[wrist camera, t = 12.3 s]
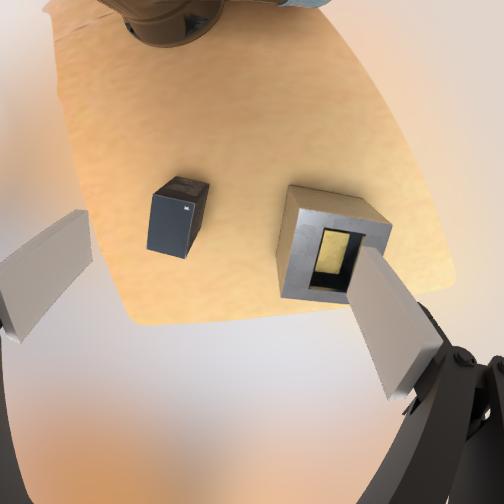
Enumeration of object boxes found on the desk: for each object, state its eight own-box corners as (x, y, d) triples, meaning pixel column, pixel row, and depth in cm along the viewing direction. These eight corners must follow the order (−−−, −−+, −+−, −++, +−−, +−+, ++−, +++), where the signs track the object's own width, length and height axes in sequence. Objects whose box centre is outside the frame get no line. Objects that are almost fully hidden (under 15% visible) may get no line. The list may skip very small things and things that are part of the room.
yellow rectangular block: (314, 211, 44) (325, 230, 37) (335, 214, 44) (349, 234, 37) (306, 246, 47) (314, 271, 40) (326, 249, 47) (338, 274, 40)
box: (174, 175, 43) (152, 193, 33) (210, 183, 44) (196, 203, 34) (166, 222, 46) (144, 250, 37) (200, 230, 47) (185, 260, 37)
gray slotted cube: (288, 184, 43) (299, 208, 32) (362, 198, 44) (392, 225, 33) (275, 256, 48) (280, 297, 38) (344, 265, 49) (364, 305, 38)
